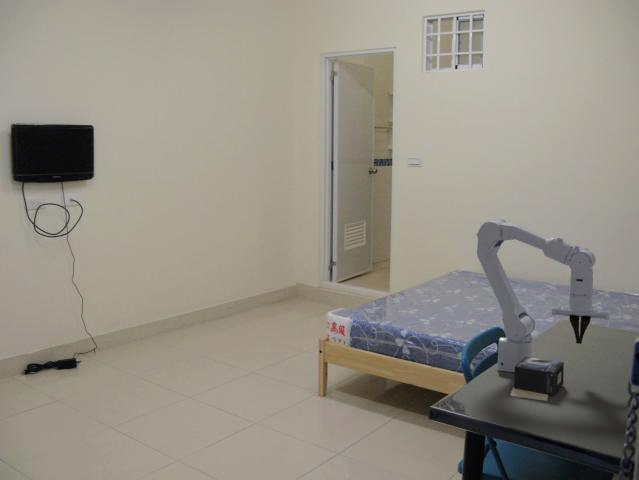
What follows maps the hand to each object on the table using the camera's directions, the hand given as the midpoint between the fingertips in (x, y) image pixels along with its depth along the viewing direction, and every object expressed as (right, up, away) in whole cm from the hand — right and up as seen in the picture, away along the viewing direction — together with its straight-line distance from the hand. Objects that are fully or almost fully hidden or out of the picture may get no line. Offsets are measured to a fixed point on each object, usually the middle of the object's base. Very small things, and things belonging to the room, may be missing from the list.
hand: (579, 342), depth 176 cm
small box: (-8, -8, -8) cm, 14 cm away
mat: (-15, -11, -6) cm, 20 cm away
